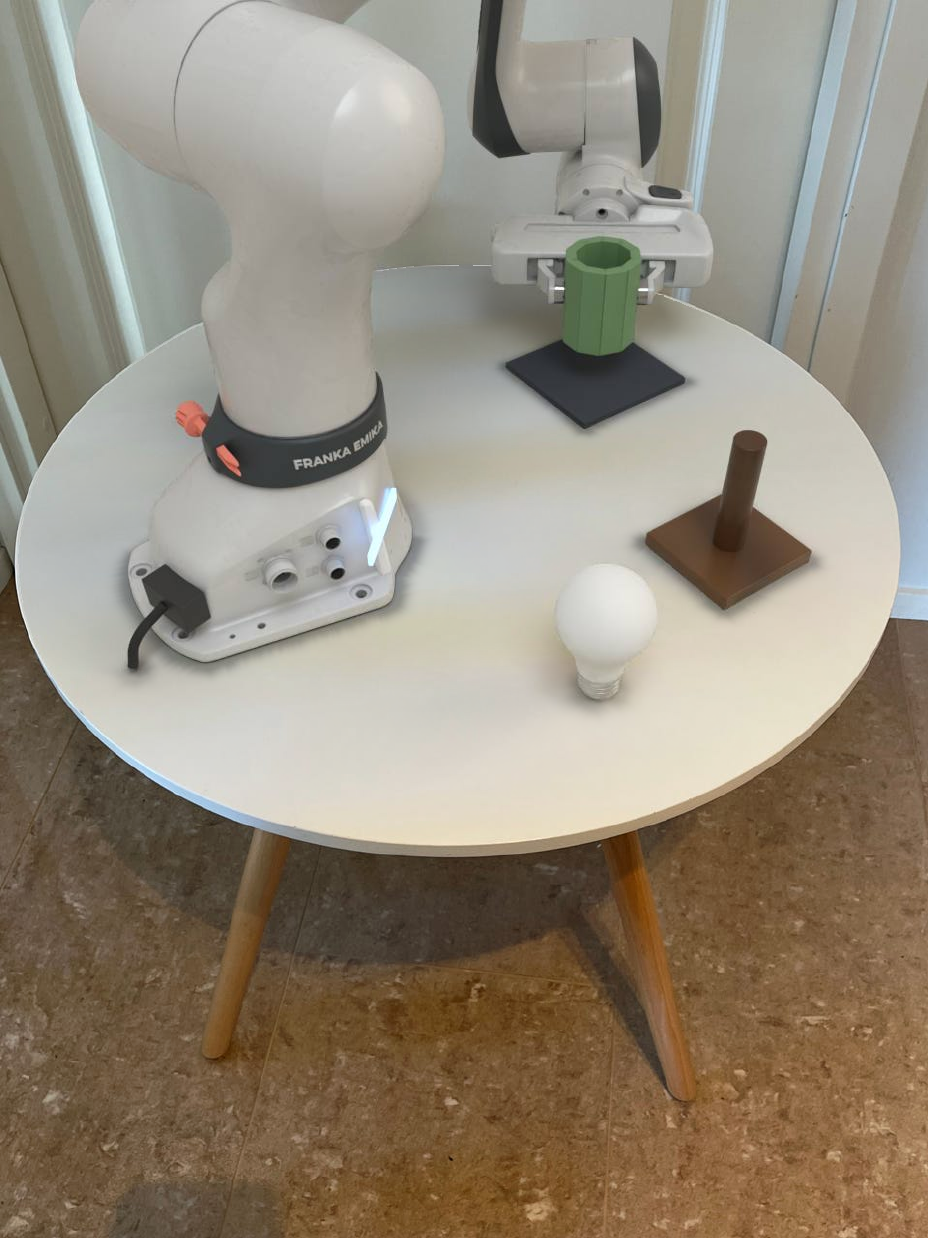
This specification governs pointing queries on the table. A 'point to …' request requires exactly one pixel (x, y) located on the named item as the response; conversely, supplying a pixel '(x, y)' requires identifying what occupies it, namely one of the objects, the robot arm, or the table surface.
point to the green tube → (600, 295)
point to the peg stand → (730, 534)
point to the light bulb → (605, 624)
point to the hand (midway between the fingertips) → (601, 297)
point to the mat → (594, 379)
